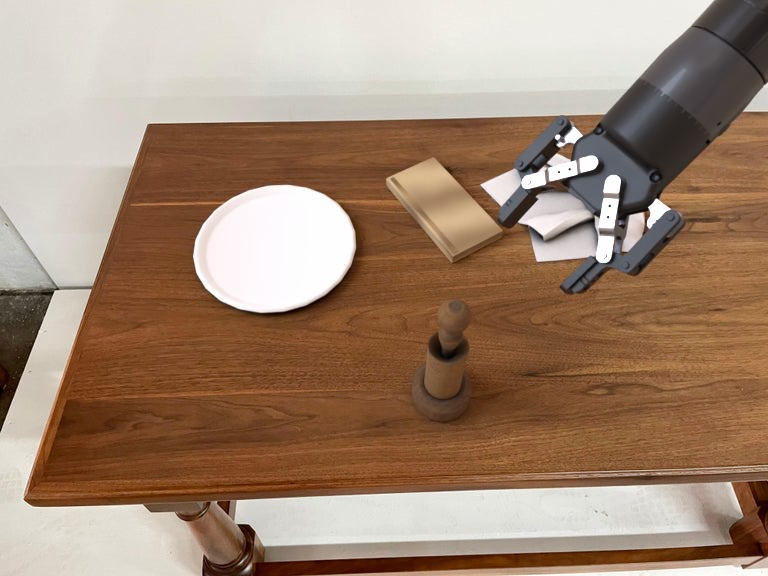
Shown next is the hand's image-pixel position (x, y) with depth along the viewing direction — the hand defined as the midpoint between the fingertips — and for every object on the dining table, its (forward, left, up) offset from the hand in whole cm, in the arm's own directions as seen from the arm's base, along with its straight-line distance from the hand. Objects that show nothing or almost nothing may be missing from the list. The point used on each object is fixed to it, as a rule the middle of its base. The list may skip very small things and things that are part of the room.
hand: (533, 257), depth 53 cm
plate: (+28, +15, -20) cm, 37 cm away
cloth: (+14, -22, -20) cm, 33 cm away
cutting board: (+22, -7, -20) cm, 30 cm away
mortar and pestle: (0, +8, -20) cm, 21 cm away
